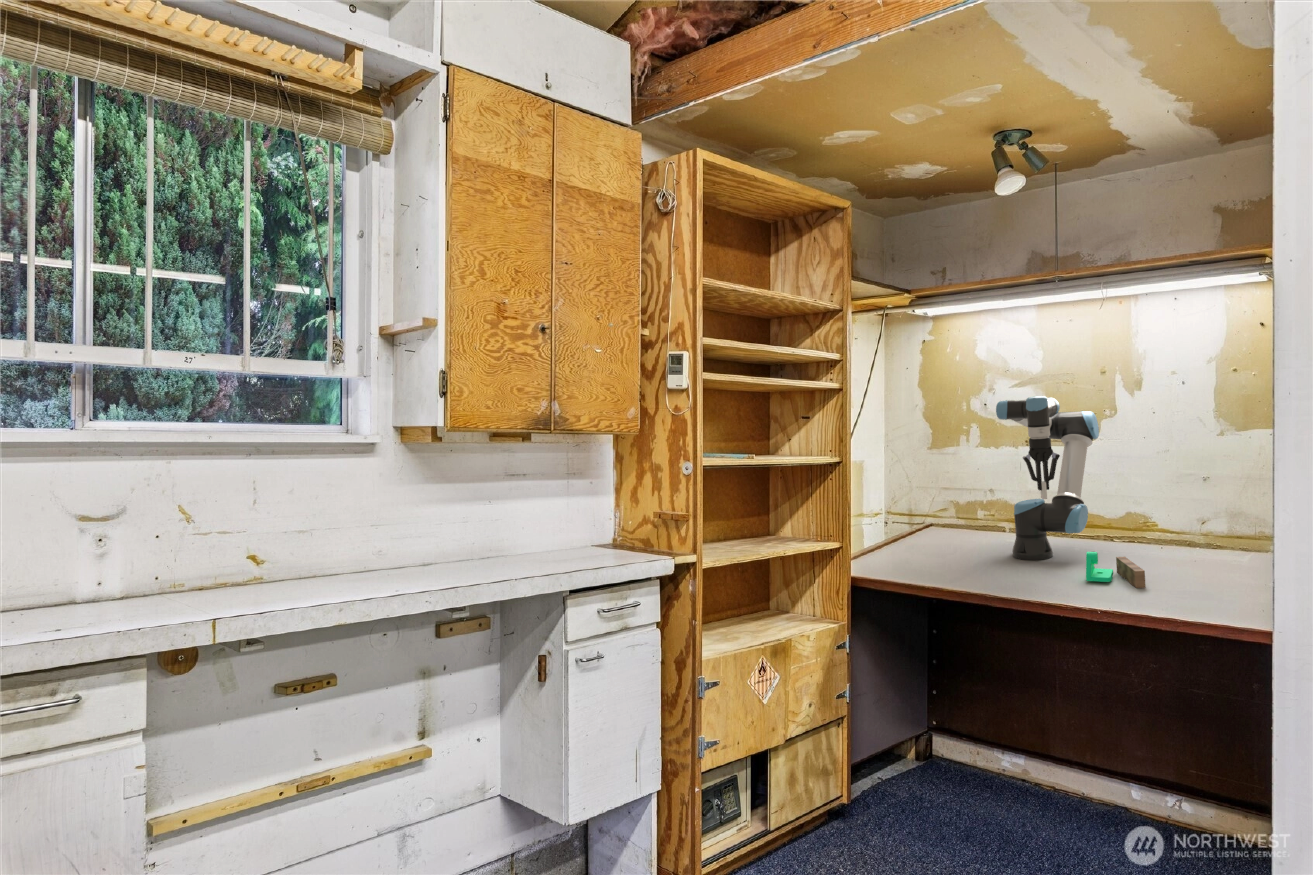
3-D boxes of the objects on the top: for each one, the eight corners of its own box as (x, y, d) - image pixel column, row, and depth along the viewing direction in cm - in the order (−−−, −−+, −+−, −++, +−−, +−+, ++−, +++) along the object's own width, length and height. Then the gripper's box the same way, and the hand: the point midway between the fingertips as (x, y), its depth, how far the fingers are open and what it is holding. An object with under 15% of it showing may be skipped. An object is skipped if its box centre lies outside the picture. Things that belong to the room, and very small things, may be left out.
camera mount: (1110, 585, 296) (1108, 556, 295) (1086, 583, 300) (1084, 555, 299) (1113, 576, 306) (1112, 548, 305) (1090, 574, 310) (1088, 547, 309)
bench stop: (1117, 572, 308) (1116, 557, 308) (1125, 572, 308) (1124, 556, 307) (1136, 588, 289) (1135, 571, 288) (1145, 587, 288) (1144, 570, 288)
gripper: (1023, 440, 311) (1028, 501, 313) (1060, 436, 309) (1065, 498, 311) (1018, 437, 318) (1023, 498, 321) (1055, 434, 316) (1059, 495, 318)
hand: (1044, 498), depth 316 cm, fingers closed
